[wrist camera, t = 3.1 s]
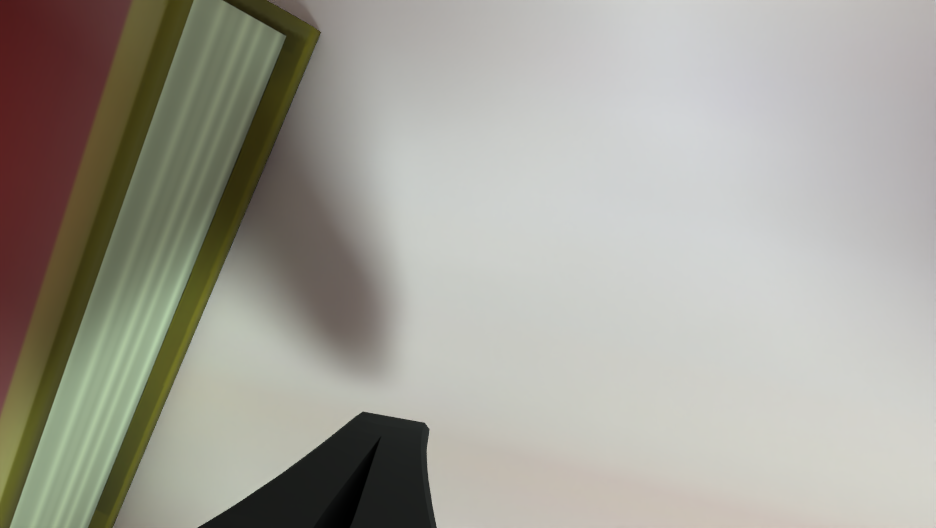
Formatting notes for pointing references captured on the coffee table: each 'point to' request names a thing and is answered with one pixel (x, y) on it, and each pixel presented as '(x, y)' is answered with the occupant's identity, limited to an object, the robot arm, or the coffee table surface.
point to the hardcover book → (119, 222)
